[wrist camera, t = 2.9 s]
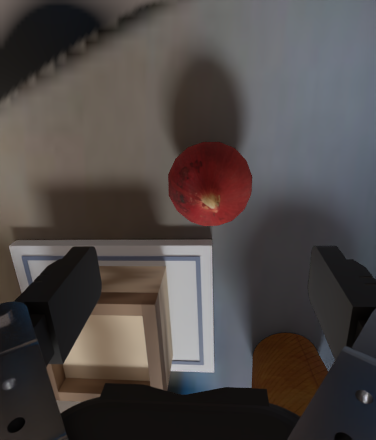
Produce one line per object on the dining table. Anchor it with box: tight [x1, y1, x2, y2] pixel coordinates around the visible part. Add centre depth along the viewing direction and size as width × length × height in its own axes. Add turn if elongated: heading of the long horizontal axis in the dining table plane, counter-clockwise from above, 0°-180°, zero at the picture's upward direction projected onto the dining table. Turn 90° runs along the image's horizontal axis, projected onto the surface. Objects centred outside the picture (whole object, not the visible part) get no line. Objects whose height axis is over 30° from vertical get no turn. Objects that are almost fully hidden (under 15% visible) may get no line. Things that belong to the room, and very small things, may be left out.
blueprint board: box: [9, 239, 214, 372], centre depth 32 cm, size 18×14×1 cm
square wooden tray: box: [46, 266, 173, 402], centre depth 29 cm, size 10×10×6 cm
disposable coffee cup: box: [252, 333, 328, 417], centre depth 27 cm, size 10×10×12 cm
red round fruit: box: [168, 142, 252, 226], centre depth 23 cm, size 6×6×8 cm
